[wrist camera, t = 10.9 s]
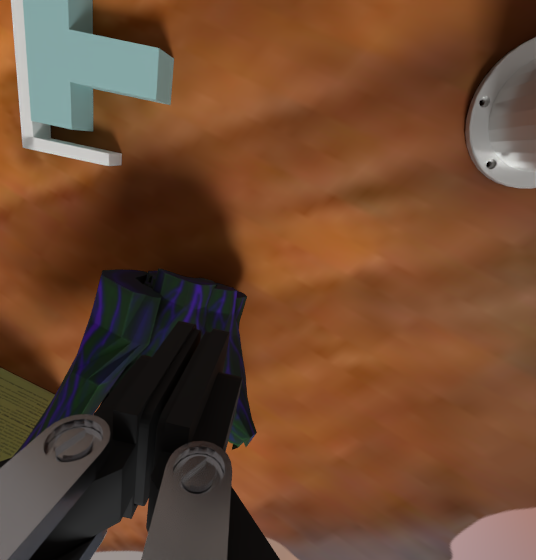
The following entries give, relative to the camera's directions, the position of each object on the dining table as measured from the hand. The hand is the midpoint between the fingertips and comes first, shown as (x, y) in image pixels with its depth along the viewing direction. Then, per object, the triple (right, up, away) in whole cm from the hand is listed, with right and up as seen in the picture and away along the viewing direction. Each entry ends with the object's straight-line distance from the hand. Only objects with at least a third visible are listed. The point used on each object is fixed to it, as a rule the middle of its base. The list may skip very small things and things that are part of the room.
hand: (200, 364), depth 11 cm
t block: (-13, +23, +22) cm, 34 cm away
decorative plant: (-9, -6, +33) cm, 35 cm away
